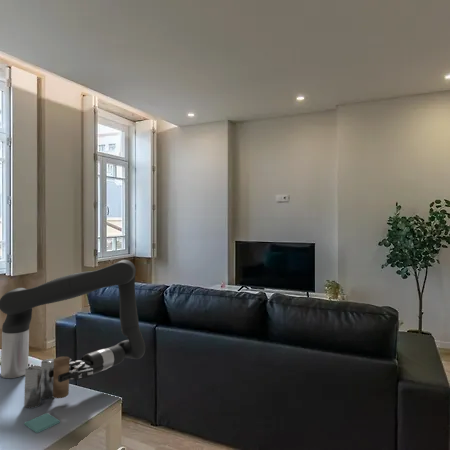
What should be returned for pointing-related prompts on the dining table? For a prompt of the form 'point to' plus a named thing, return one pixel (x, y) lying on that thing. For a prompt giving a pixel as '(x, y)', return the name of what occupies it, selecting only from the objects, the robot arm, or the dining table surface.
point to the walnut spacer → (60, 368)
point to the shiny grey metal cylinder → (47, 379)
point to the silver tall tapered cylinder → (32, 386)
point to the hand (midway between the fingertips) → (54, 376)
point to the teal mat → (42, 422)
